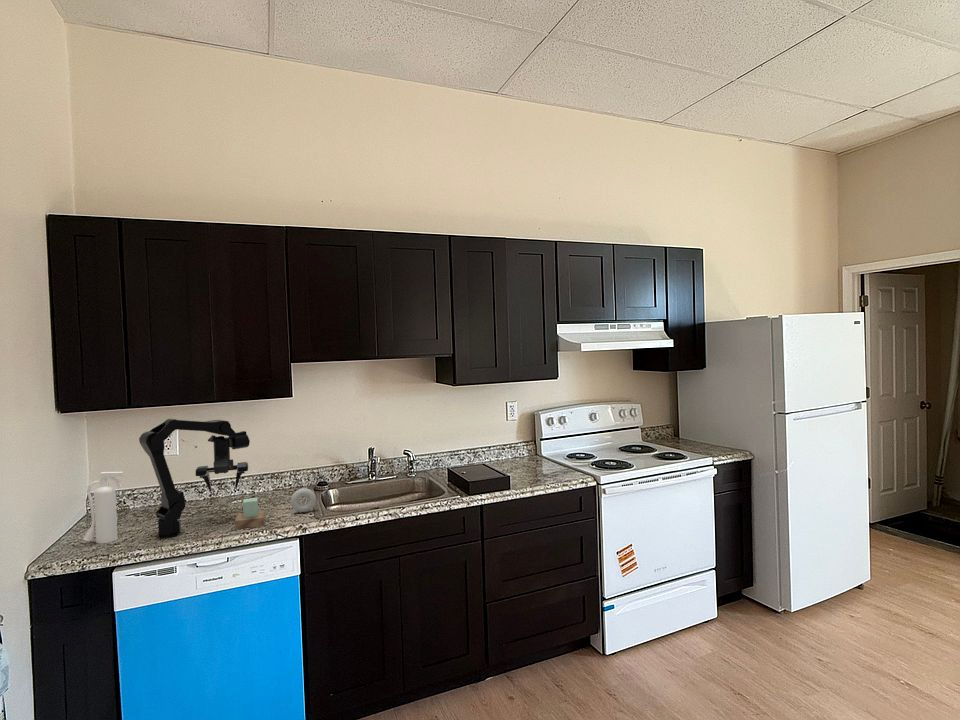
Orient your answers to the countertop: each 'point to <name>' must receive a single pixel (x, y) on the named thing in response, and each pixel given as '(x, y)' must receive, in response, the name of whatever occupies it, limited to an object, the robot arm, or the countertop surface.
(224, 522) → the countertop surface
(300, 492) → the donut
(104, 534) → the fire extinguisher
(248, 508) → the sage block
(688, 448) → the countertop surface
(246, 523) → the walnut base
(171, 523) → the robot arm
